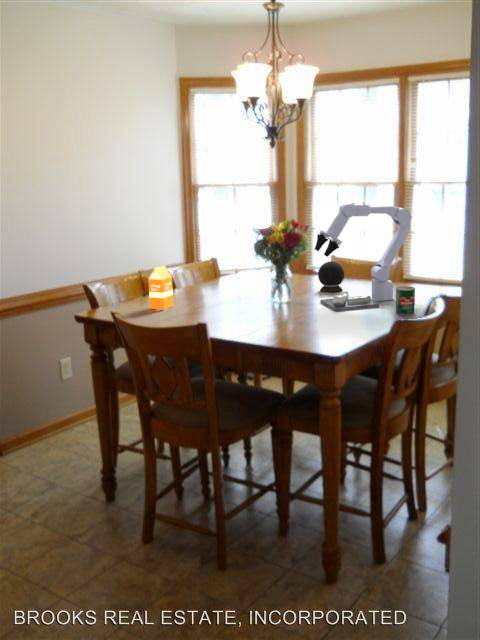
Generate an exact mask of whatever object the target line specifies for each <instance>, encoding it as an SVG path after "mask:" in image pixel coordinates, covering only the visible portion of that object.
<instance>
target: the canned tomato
mask: <svg viewBox="0 0 480 640" xmlns="http://www.w3.org/2000/svg"><path fill="white" fill-rule="evenodd" d="M415 290H416V288H415V287H413V286H406V285H405V286H398V287H396V289H395V314H396V315H398V316H412V315H415V302H416V301H415V300H416V299H415V297H416V291H415Z"/></svg>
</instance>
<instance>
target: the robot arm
mask: <svg viewBox="0 0 480 640" xmlns="http://www.w3.org/2000/svg"><path fill="white" fill-rule="evenodd" d="M338 210H339V211H338V212H337V214H336V216H335V217H334V219H333V220H332V223H331V224H330V226H328V229H327V230H326V231H324V230H320V232H319V233H318V234H317V240H316V243H315V246H314V250H315V251H317V252H319V251H320V250H321V249H322V247H323V246H324V244H326V242H328V244H327V247H326V249H325V252H324V253H323V255H324V256H325V257H326V258H328V257H329V256H330V255H331V254H332V253H333V252H334V251H335V250H338V249H339V248H340V246H341V244H342V242H343V241H342V240H340V239H339V237H340V235H341V233H342V231H343V230H344V228H345V227H346V225H347V223H348V221H349V220H350V218H352V217H368V216H370V215H371V214H383V215H384V214H385V215H388V217H391V220H393V221H394V223H395V226H396V228H397V230H396V232H395V233H394V235H393V237H392V239H391V241H389V244H388V246H387V248H386V250H384V253H383V255H382V257H381V259H379V260H378V261H377V262H376V264H375V265H373V266H372V268H370V270H369V271H370V276H371V277H372V279H371V296H370V297H371V300H372V301H374V302H382V301H383V302H384V301H393V300H395V299H394V284H393V281H392V280H390V279H389V277H390V272H391V270H392V263H393V261H394V260H395V258H396V257H397V255H398V253H399V251H400V249H401V247H402V246H403V244H404V242H405V241H406V239H407V237H408V235H409V233H410V231H411V219H412V217H413V216H412V215H411V212H410V210H409V209H407V208H404V207H401V206H393V205H379V206H378V205H376V206H370V204H368V203H366V202H361V203H355V202H351V203H343V204H342V205H340V206H339V208H338Z"/></svg>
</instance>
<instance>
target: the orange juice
mask: <svg viewBox="0 0 480 640" xmlns="http://www.w3.org/2000/svg"><path fill="white" fill-rule="evenodd" d="M147 281H148V292H149V293H148V294H149V296H148V297H149V307H150V308H156V309H166V308H168V307H171V306H174V307H175V304H174V291H173V290H174V288H173V276H172V274H170V272H169V271H168V269H167V267H166V265H164V264H163V265H159V266H156V267H154V269H153V270H152V271H151V274H150V276H149V277H148V279H147ZM150 308H149V309H150Z"/></svg>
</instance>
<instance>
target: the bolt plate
mask: <svg viewBox="0 0 480 640" xmlns="http://www.w3.org/2000/svg"><path fill="white" fill-rule="evenodd" d="M371 297H372V296H371V295H370V294H367V295H366V296H364V295H361V296H349V298H347V300H346V296H345V295H343V294H335V295H333V297H332V298H325V299H320V302H319V303H320V304H322V305H323V306H325V307H327V308H329V309H331V310H333V311H334V312H342V311H352V310H363V309H364V310H365V309H374V308H380V303H379V302H377V301H373V300H371Z"/></svg>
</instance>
